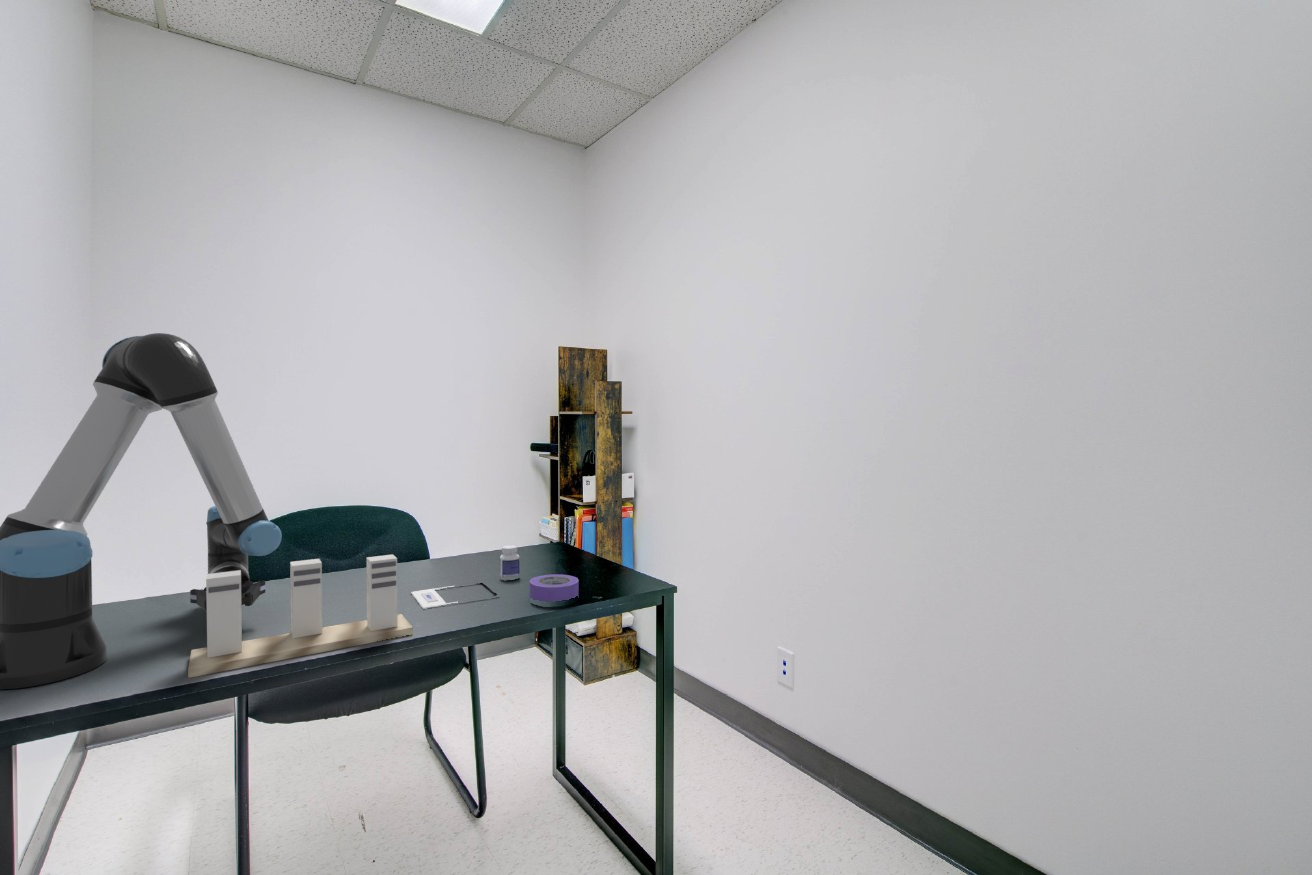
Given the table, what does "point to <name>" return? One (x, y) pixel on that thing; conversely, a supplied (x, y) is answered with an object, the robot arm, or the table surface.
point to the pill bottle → (509, 562)
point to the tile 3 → (381, 592)
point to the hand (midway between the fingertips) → (229, 612)
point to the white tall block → (306, 597)
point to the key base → (294, 646)
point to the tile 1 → (224, 613)
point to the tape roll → (554, 587)
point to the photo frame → (429, 598)
